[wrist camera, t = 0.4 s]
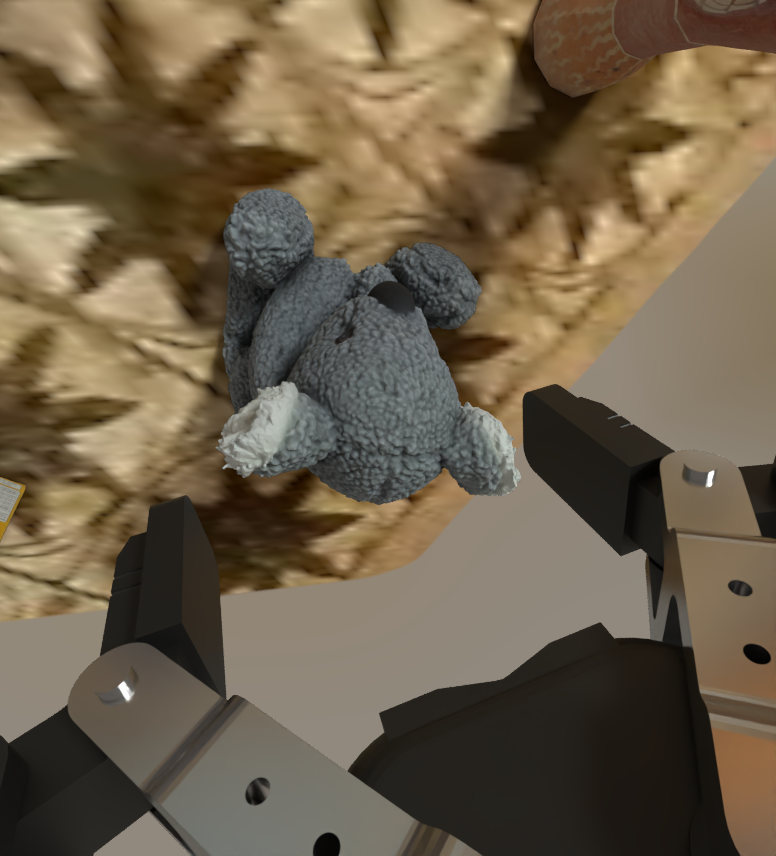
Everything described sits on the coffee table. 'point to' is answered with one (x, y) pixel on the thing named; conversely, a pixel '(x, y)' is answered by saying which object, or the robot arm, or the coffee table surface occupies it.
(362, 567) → the coffee table surface
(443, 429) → the koala plush
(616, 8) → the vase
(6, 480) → the crayon box
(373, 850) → the robot arm
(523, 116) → the coffee table surface
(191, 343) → the coffee table surface
